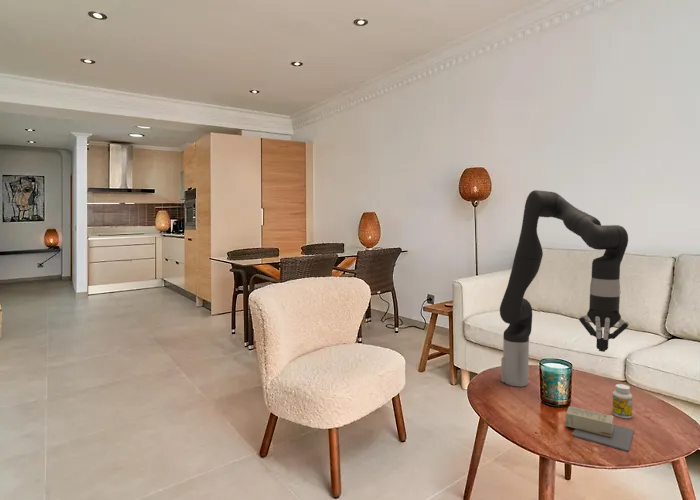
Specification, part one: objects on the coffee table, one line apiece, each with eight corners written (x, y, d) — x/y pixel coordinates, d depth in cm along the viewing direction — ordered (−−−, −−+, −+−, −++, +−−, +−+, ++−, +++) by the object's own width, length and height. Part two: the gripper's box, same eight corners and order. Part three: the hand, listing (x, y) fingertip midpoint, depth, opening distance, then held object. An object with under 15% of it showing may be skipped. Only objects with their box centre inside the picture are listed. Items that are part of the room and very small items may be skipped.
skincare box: (564, 426, 129) (611, 438, 121) (565, 412, 128) (612, 424, 121) (568, 418, 134) (613, 429, 126) (569, 405, 133) (614, 415, 126)
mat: (572, 436, 124) (572, 434, 124) (581, 417, 135) (581, 416, 135) (628, 452, 115) (628, 450, 115) (633, 431, 126) (633, 429, 126)
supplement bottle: (635, 416, 135) (636, 387, 134) (625, 420, 133) (626, 391, 132) (618, 409, 140) (619, 381, 139) (608, 413, 138) (609, 384, 137)
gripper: (576, 292, 124) (574, 349, 125) (630, 298, 116) (627, 359, 117) (581, 289, 130) (579, 343, 131) (633, 293, 121) (630, 351, 123)
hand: (602, 350), depth 124 cm, fingers closed
